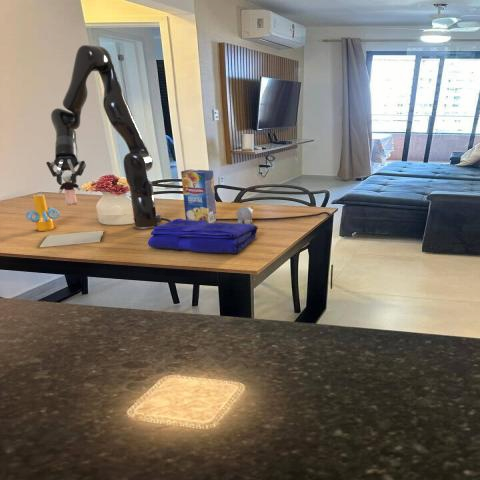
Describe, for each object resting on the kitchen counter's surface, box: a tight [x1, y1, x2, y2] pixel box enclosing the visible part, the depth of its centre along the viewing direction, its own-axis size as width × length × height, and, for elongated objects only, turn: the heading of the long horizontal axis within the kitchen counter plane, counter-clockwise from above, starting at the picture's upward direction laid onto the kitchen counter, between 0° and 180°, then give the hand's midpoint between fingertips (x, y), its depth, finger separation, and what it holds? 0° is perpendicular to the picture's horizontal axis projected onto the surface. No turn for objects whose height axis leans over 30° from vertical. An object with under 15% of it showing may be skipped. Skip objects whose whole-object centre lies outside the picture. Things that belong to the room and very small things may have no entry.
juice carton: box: [180, 168, 217, 223], centre depth 177 cm, size 12×8×24 cm, turn 75°
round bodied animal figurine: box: [236, 205, 254, 225], centre depth 180 cm, size 7×12×8 cm, turn 165°
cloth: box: [39, 230, 104, 248], centre depth 154 cm, size 20×14×1 cm
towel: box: [147, 218, 259, 255], centre depth 151 cm, size 26×36×9 cm
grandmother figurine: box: [58, 173, 81, 207], centre depth 154 cm, size 8×4×13 cm, turn 148°
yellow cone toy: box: [24, 193, 60, 232], centre depth 163 cm, size 12×10×15 cm
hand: (66, 183), depth 151 cm, fingers closed on grandmother figurine, 4 cm apart
